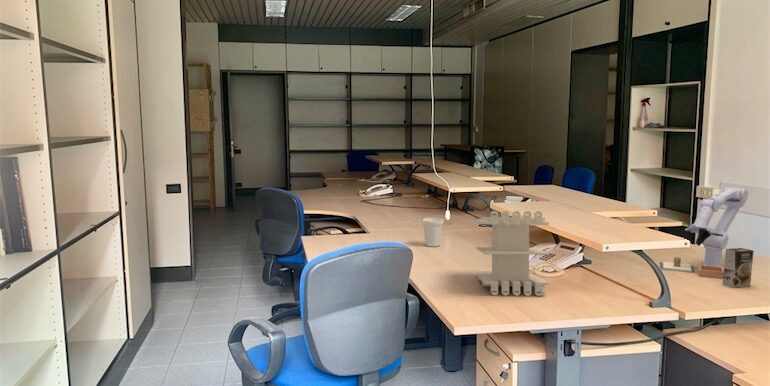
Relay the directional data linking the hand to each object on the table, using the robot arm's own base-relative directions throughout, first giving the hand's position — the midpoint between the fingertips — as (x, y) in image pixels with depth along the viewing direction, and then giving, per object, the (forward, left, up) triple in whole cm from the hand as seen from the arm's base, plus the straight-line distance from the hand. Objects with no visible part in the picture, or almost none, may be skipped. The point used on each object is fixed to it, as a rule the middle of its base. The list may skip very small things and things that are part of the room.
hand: (691, 244), depth 262 cm
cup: (+1, -131, -14) cm, 132 cm away
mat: (-6, -5, -13) cm, 16 cm away
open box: (+2, +9, -13) cm, 16 cm away
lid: (-6, -5, -13) cm, 15 cm away
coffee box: (+14, +18, -14) cm, 27 cm away
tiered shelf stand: (+57, -72, -14) cm, 93 cm away
